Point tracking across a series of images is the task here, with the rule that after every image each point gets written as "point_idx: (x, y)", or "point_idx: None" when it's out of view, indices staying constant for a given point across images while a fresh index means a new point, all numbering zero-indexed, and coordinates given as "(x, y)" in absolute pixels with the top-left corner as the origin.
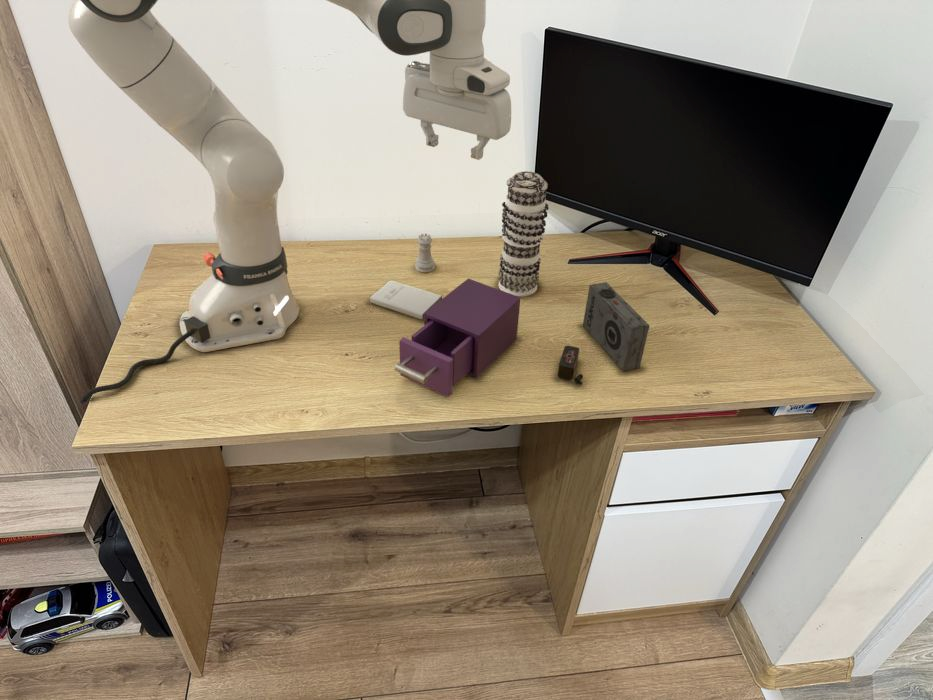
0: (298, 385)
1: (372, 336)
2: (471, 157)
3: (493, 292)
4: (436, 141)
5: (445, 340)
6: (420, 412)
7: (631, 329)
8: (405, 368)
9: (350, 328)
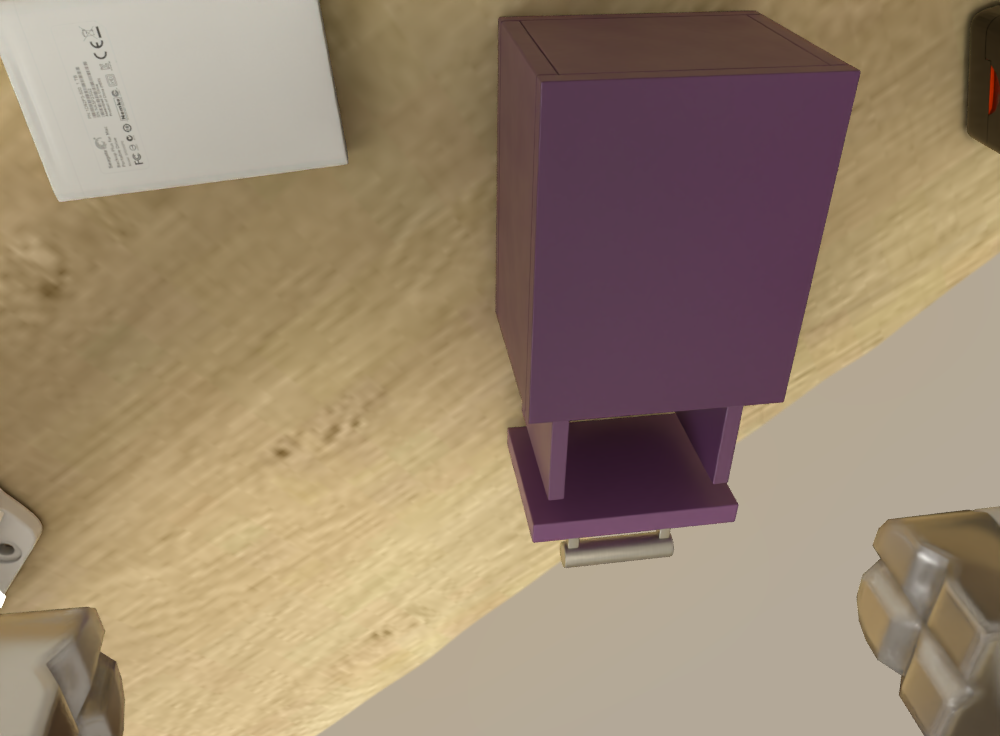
0: (287, 599)
1: (268, 342)
2: (868, 620)
3: (720, 117)
4: (77, 690)
5: None
6: None
7: None
8: (600, 562)
9: (165, 357)
